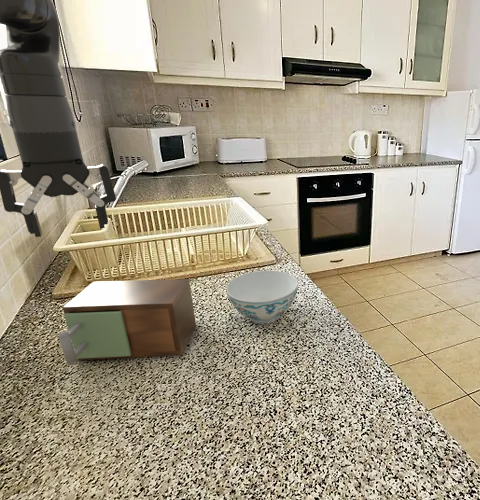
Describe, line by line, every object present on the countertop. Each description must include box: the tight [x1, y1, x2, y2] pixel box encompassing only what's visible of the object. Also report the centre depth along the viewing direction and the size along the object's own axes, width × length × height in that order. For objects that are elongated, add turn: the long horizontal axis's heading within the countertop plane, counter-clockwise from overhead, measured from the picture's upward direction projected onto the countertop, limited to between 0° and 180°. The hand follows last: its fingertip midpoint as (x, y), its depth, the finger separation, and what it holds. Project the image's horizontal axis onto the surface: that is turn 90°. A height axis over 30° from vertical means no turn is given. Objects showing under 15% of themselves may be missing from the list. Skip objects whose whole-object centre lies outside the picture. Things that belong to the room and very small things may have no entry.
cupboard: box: [62, 278, 197, 361], centre depth 71 cm, size 18×10×11 cm, turn 96°
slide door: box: [58, 311, 131, 367], centre depth 63 cm, size 9×5×9 cm, turn 96°
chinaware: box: [225, 269, 299, 325], centre depth 82 cm, size 15×15×8 cm
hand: (71, 231), depth 62 cm, fingers open, 8 cm apart
